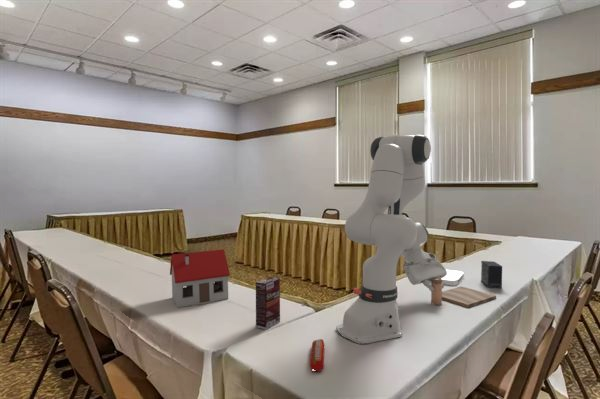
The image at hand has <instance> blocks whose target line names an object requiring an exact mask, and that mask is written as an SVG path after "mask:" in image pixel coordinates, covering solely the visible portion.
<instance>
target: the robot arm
mask: <svg viewBox="0 0 600 399" xmlns="http://www.w3.org/2000/svg"><path fill="white" fill-rule="evenodd" d="M431 146H432V145H431V142H430V139H429V138H428V136H426V135H423V134H411V135H410V134H394V135H388V136H387V135H386V136H379V137H377V138H375V139H374V140H373V141H372V142H371V145H370V149H369V153H370V158H371V159H372V165H371V170H370V176H369V181H368V188H367V192H366V194H365V198H364V199H363V201H362V203H361V204H360V206H359V207H358V209H357V210H355V212H354V213H352V214H350V215H349V216H348V217H347V218H346V221H345V223H344V232H345V235H346V237H347V239H349V240H350V241H352V242H355V243H357V244H361V245H366V246H367V245H369V246H375V247H376V250H375V251H376V252H375V253H374V254H373V255H372V256H371V257H368V258H367V259H366V260H365V261H364V262H363V264H362V284H361V286H360V287H361V288H359V287H354V288H353V292H352V293H353V294H355V295H358V298H357V299H356V300H355V301H354V302H353V303H352V304H350V306H349V307H348V309H346V311H345V312H344V313H343V314H344V315H343V318H342V319H343V320H342V321H343V322H342V323H341V324H338V325H336V329H337V330H336V332H337V331H338V332H339V333H340V334H341V335H343V336H344V338H345V337H346V338H348V339H350V340H349V341H351V340H352V341H351V342H353V341H354V342H353V343H356V342H357V343H356V344H360V343H367V344H371V343H377V342H381V341H386V340H391V339H396V338H400V337H402V336H403V334H402V333H403V332H402V326H401V322H400V317H399V316H400V315H399V308H398V303H397V299H398V294H399V292H398V287H397V267H398V264H399V260H400V258H401V257H402V256H403V258H404V261H405V262H406V263H404V264H403V266H402V268H403V270H404V273H405V275H406V277H407V279H408V281H409V282H410V284H412V285H413V286H415V285H419V284H422V285H423V286H425V287H426V288H427V289H428V290H429V291H430V292H432V291H434V290H435V289H436V288H435V287H434V286H432V285H431V282H429V281H431V278H440V279H441V278H444V277H445V276H446V275H447V271H446V269H447V268H445V266H444V265H443V264H442V263H441V261H439V260H438V259H437V258H438V257H437V256H436V254H435V253H429V252H426V251H424V249H422V246H423V245H425V243H427V241H429V240H428V239H429V231H428V229H427V228H426V226H425V225H424V224H422V223H420V222H415V221H414V220H413V219H412V218H411V217H407V216H405V215H403V211H404V210H405V208H406V207H407V206H408V205H409V204H410V203H411V202H412V201H413V200H415V199H416V198H418V197H419V196H420V195H421V194H422V192H423V191H424V188H425V172H424V163H426V162H427V161H428V159H430V156H431V150H432V147H431ZM386 211H387V213H385V212H386ZM444 288H445V286H444V284H442V290H443V289H444ZM338 332H337V333H338ZM339 333H338V334H339ZM340 334H339V335H340ZM341 335H340V336H341ZM343 336H342V337H343ZM346 338H345V339H346ZM348 339H347V340H348Z"/></svg>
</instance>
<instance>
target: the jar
mask: <svg viewBox="0 0 600 399" xmlns="http://www.w3.org/2000/svg"><path fill="white" fill-rule="evenodd" d="M430 284H431V285H432V286H434V287H435V288H436V289H435V290H434V291H432V292H431V291H430V292H431V294H430V302H431V304H432V305H435V306H442V305H443V300H442V292H443V289H442V279H440V278H431V282H430Z"/></svg>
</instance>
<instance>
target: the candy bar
mask: <svg viewBox="0 0 600 399" xmlns="http://www.w3.org/2000/svg"><path fill="white" fill-rule="evenodd" d="M324 346H325V343H324V339H316V340H313V341H312V345H311V353H310V360H309V361H310V362H309V365H310V366H309V367H310V369H311V368H312V369H314V370H319V371H322V370H323V369H324V368H323V367H324V366H325V348H324Z"/></svg>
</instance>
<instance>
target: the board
mask: <svg viewBox="0 0 600 399" xmlns="http://www.w3.org/2000/svg"><path fill="white" fill-rule="evenodd" d="M496 299H497V295H496V294H492V293H488V292H485V291H481V290H476V289H472V288H469V287H467V286H466V287H465V286H457V287H454V288H449V289H446V290H442V301H446V302H448V303H453V304H455V305H459V306H462V307H465V308H472V307H475V306H477V305H481V304H484V303H486V302H489V301H492V300H496Z"/></svg>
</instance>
